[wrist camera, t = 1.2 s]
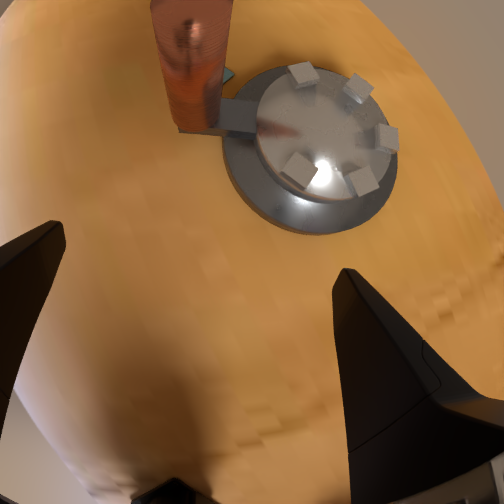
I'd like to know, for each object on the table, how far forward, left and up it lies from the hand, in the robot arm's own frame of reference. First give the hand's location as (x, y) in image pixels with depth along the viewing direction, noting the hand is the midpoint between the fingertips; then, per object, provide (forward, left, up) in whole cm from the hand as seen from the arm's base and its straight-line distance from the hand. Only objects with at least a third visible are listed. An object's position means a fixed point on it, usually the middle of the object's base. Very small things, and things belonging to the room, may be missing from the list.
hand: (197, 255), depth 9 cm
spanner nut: (+10, +3, -11) cm, 15 cm away
